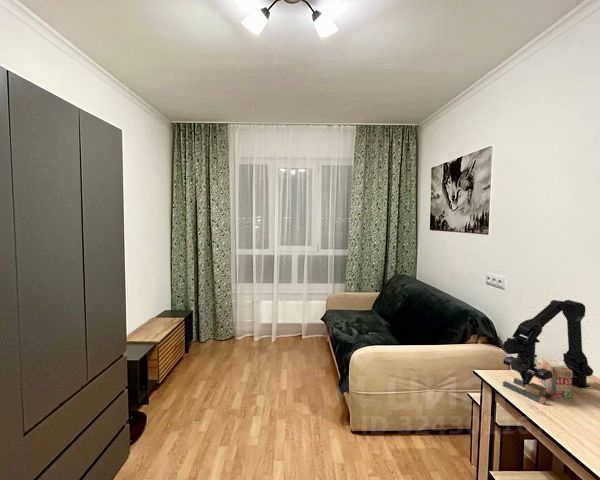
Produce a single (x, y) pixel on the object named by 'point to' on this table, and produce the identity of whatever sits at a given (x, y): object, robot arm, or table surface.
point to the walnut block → (536, 389)
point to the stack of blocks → (556, 377)
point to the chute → (528, 394)
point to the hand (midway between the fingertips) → (525, 385)
